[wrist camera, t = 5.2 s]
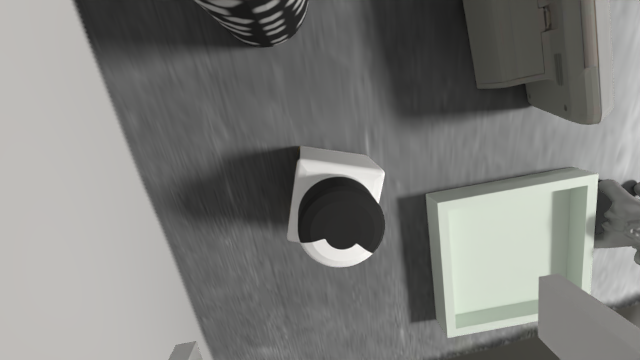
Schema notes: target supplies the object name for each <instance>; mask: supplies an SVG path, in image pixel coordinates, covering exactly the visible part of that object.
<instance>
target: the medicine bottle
mask: <svg viewBox="0 0 640 360" xmlns="http://www.w3.org/2000/svg"><path fill="white" fill-rule="evenodd" d="M384 175H385V173H384V171H383V170H382V169H381V168H380V167H379V166H378V165H377V164H376V163H375V162H373V161H372V160H371V159H370V158H369V157H368V156H367V155H362V154H355V153H348V152H341V151H334V150H327V149H320V148H313V147H306V146H300V147H299V148H298V153H297V160H296V168H295V175H294V182H293V190H292V197H291V204H290V212H289V222H288V231H287V239H288V240H289V241H293V242H300V243H301V245H302V247H303V248H304V250H305V251H306V252H307V254H308V255H309V256H310V257H312V258H313V259H314V260H316V261H318V262H319V263H322V264H324V265H327V266H332V267H348V266H352V265H355V264H358V263H360V262H362V261H364V260H365V259H367V258H368V257H369V256H370V255H372V254H373V253H374V251H375V250H376V249H377V248H378V246H379V245H380V243H381V241H382V238H383V235H384V230H385V220H384V215H383V212H382V209H381V207H380V205H379V199H380V194H381V190H382V185H383V180H384Z"/></svg>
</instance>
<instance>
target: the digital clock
mask: <svg viewBox="0 0 640 360" xmlns="http://www.w3.org/2000/svg"><path fill="white" fill-rule="evenodd" d="M463 5H464V11H465V17H466V23H467V29H468V35H469V41H470V47H471V54H472V60H473V66H474V72H475V78H476V84H477V89H488V88H505V87H510V86H515V85H519V84H524V83H525V84H526V91H527V98H528V101H529V103H530V104H531V105H532V106H534V107H537V108H539V109H542V110H544V111H547V112H549V113H551V114H554V115H556V116H559V117H561V118H564V119H566V120H569V121H572V122H575V123H579V124H585V125H591V124H598V123H600V122H601V121H602V120H603V119H604V118H605V117H606V116H607V115H608V114H609V113H610V112H611V111H612V109H613V107H614V77H613V57H612V37H611V17H610V0H463Z"/></svg>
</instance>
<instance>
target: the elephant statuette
mask: <svg viewBox="0 0 640 360" xmlns="http://www.w3.org/2000/svg"><path fill="white" fill-rule="evenodd" d="M598 189H599V190H600V191H602V192H603V193H605V194H606V195H607V196H608V198H609V199H610V200H611V202H612V205H611V207H610V209H609V210H608V211H606V212H605V213H604V217H606V218H607V219H608V220H609V221H606V222H603V223H602V224H601V225H602V227H603V228H604V233H599V234H595V233H594V246H593V247H595V248H616V247H626V246H632V248H636V249H637V252H636V254H635V256H634V261H635V262H636V263H637V264H639V265H640V200H639V199H637V198H635V197H633V196H632V195H631V194H629V193H628V192H627V191H626V190H625V189H624V188H623V187H621V186H620V184H619V183H618V182H616V181H614V180H610V179H606V180H602V181H600V182H599V183H598ZM634 191H635V193H636V194H637V195H638V196H639V197H640V182H639V183H637V184H636V185H635V186H634Z"/></svg>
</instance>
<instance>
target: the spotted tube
mask: <svg viewBox="0 0 640 360" xmlns="http://www.w3.org/2000/svg"><path fill="white" fill-rule="evenodd" d="M194 1H195V2H196V3H198V4H199V5H200V6H201V7H202V8H203V9H204V10H205V11H207V12H208V13H209V14H210V15H211V16H212V17H213V18H214V19H216V20H217V21H218V22H219V23H220V24H221V25H222V26H223V27H225V28H226V29H227V30H228V31H229V32H230V33H231V34H233V35H234V36H235V37H236V38H237V39H239V40H241V41H243V42H244V43H246V44H250V45H253V46H258V47H270V46H275V45H278V44H281V43H283V42H285V41H286V40H288V39H289V38H291V37H292V36H293V35H294V34H295V33H296V32H297V30H298V29H299V28H300V26H301V25H302V23H303V21H304V19H305V16H306V13H307V9H308V0H194Z"/></svg>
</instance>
